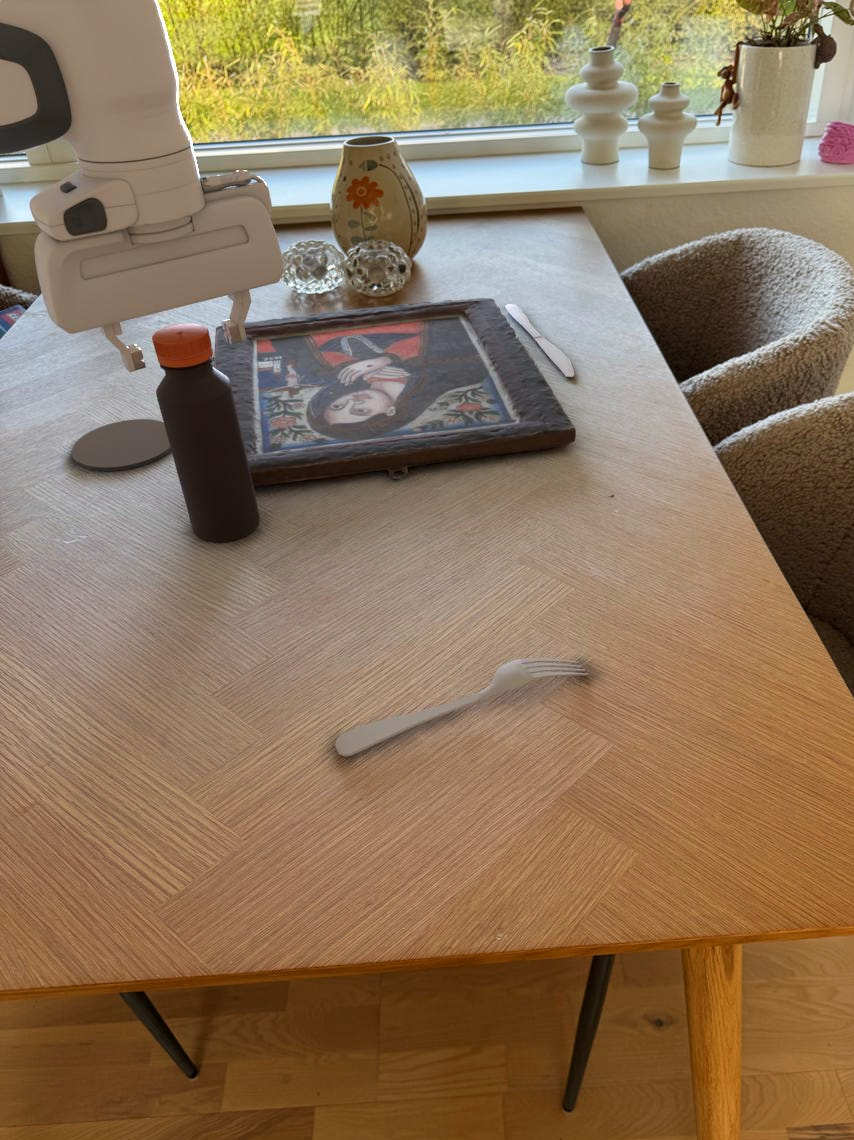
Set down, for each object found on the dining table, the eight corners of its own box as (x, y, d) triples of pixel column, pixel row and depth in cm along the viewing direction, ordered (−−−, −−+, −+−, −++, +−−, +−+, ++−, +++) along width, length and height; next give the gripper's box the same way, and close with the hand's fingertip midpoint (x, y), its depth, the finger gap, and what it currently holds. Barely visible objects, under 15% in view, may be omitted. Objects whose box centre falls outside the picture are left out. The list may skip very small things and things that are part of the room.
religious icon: (211, 506, 100) (205, 480, 98) (214, 345, 134) (209, 324, 132) (581, 455, 105) (581, 430, 103) (493, 313, 140) (492, 292, 138)
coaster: (89, 482, 105) (87, 478, 105) (60, 441, 113) (59, 438, 113) (193, 450, 110) (192, 446, 110) (159, 413, 118) (157, 410, 118)
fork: (339, 759, 74) (330, 735, 72) (575, 658, 79) (572, 633, 77) (350, 783, 72) (341, 759, 70) (592, 679, 77) (589, 653, 75)
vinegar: (274, 523, 97) (234, 330, 84) (218, 552, 93) (167, 354, 81) (235, 501, 101) (191, 313, 88) (180, 528, 97) (125, 335, 84)
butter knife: (522, 301, 141) (502, 303, 140) (584, 375, 121) (562, 377, 120) (522, 305, 141) (502, 307, 141) (583, 379, 121) (561, 381, 121)
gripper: (250, 159, 83) (279, 316, 92) (7, 205, 75) (64, 373, 84) (279, 172, 79) (307, 335, 88) (26, 223, 71) (84, 397, 79)
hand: (187, 354), depth 86 cm, fingers open, 8 cm apart
